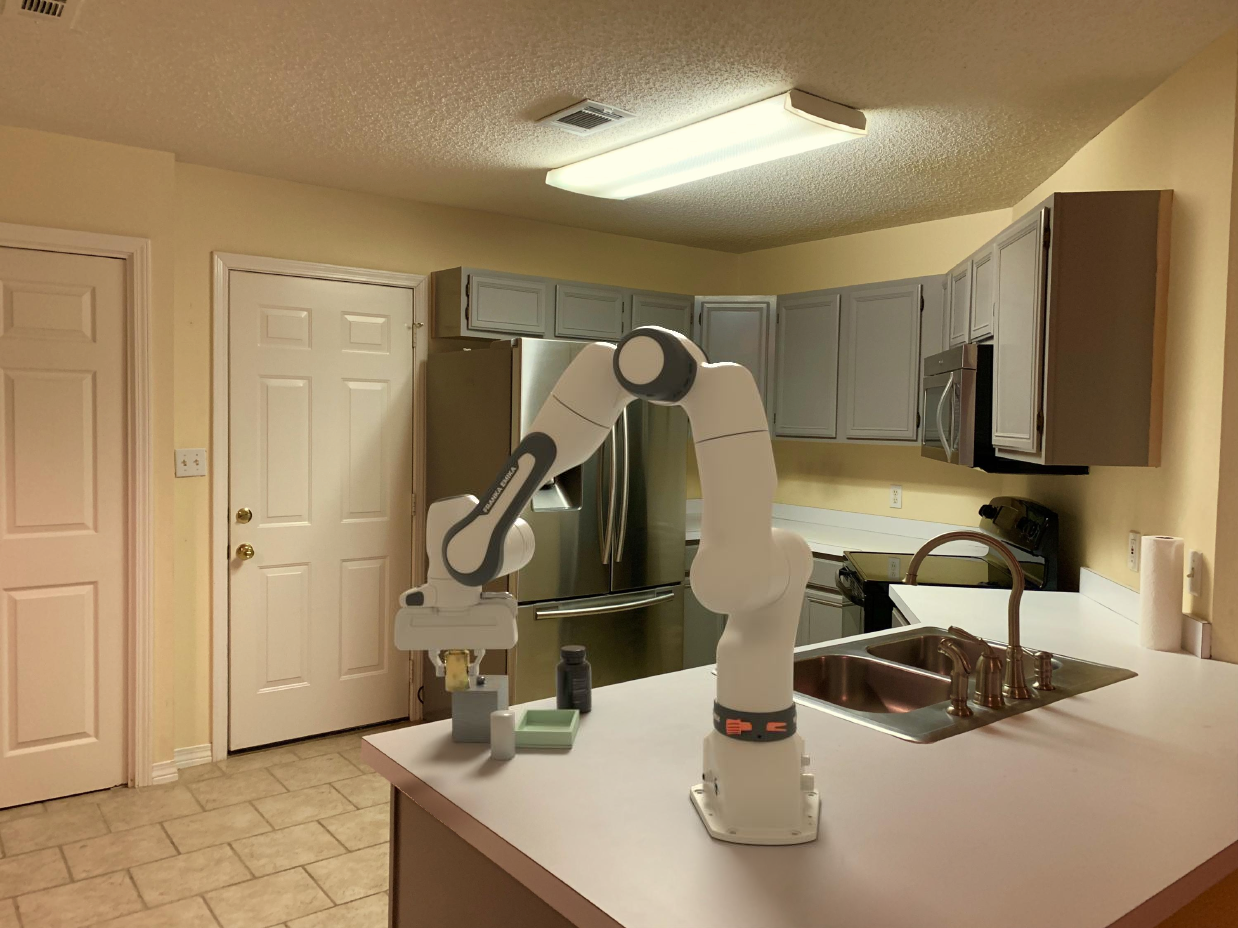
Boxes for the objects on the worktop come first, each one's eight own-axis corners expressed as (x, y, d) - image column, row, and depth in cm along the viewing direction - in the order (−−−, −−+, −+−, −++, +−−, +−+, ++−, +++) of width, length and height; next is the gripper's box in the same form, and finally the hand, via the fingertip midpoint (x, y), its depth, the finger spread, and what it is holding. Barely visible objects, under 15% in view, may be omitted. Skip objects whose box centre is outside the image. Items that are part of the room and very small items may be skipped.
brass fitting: (467, 691, 148) (466, 650, 148) (443, 691, 148) (441, 650, 148) (472, 685, 152) (471, 644, 152) (449, 685, 152) (447, 645, 152)
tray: (571, 748, 152) (571, 731, 152) (513, 746, 153) (513, 730, 153) (579, 724, 164) (579, 709, 164) (525, 723, 165) (524, 708, 165)
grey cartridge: (512, 760, 147) (512, 717, 147) (488, 759, 147) (488, 717, 147) (517, 751, 151) (516, 710, 151) (493, 751, 151) (493, 709, 151)
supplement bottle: (593, 704, 177) (593, 643, 176) (589, 715, 170) (588, 652, 169) (559, 703, 177) (558, 643, 177) (553, 714, 170) (552, 651, 170)
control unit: (498, 742, 155) (497, 685, 155) (452, 741, 156) (451, 684, 155) (509, 722, 166) (508, 669, 165) (466, 722, 166) (465, 668, 166)
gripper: (520, 588, 152) (522, 669, 152) (401, 590, 153) (403, 671, 153) (513, 594, 146) (516, 679, 146) (389, 596, 147) (392, 681, 147)
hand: (457, 675), depth 150 cm, fingers closed on brass fitting, 4 cm apart
